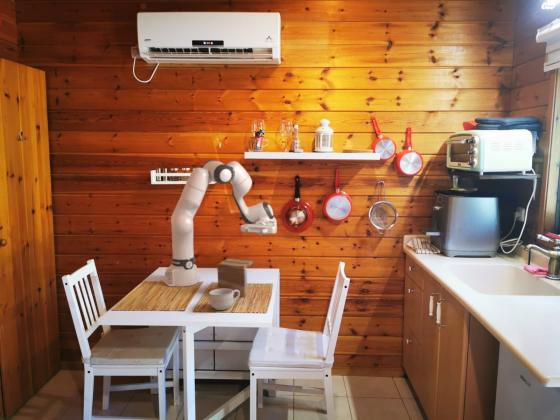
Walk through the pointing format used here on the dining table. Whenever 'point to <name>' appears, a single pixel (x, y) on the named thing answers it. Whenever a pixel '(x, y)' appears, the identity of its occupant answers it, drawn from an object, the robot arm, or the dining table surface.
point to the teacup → (222, 298)
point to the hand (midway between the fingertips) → (253, 231)
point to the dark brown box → (233, 275)
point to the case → (245, 278)
